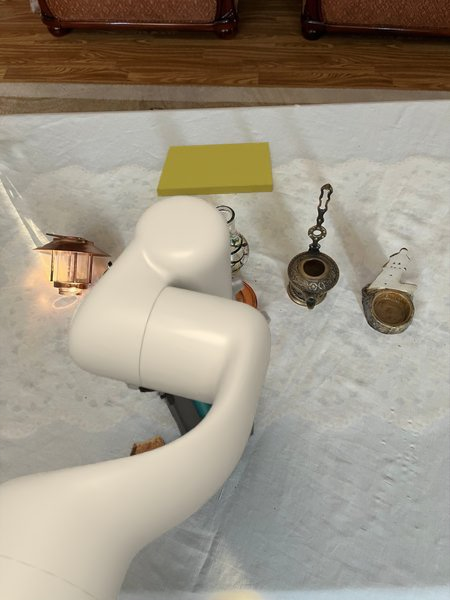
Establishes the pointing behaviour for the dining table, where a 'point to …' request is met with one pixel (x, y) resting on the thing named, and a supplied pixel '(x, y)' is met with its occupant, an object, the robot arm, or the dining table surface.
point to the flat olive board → (216, 169)
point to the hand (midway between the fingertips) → (203, 376)
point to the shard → (147, 446)
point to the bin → (186, 414)
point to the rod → (202, 408)
